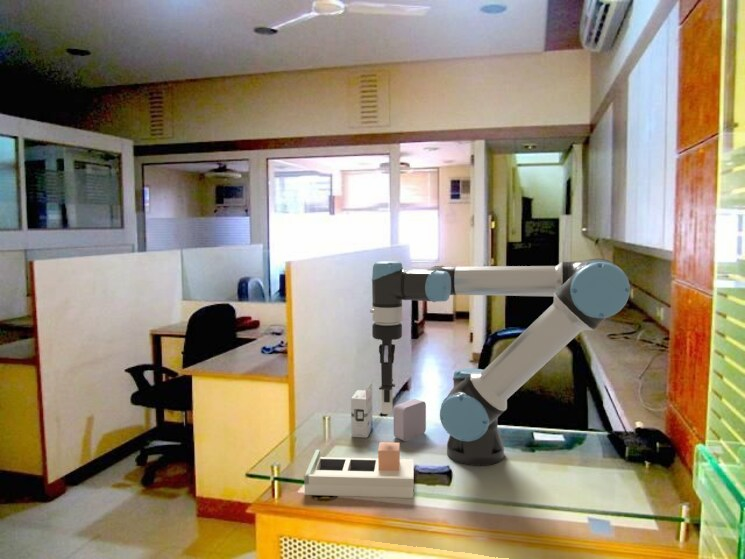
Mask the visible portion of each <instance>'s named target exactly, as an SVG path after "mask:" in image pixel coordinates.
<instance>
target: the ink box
mask: <svg viewBox="0 0 745 559" xmlns="http://www.w3.org/2000/svg"><path fill="white" fill-rule="evenodd" d="M350 414H351V416H350V422H351V425H350V426H351V432H350V433H351V437H352V438H368V437H369V435H370V433H371V431H372V430H373V427H372V426H373V381H370V383H369V384H368V385H367V387H366V389H365V390H364V389H362V390H361V389H356V390H355V393H353V395H352V397H351V398H350Z"/></svg>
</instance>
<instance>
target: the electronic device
mask: <svg viewBox="0 0 745 559" xmlns="http://www.w3.org/2000/svg"><path fill="white" fill-rule="evenodd" d="M426 429H427V404H426V402H425V401H423V400H419V399H416V398H413V399H410V400H407V401H403V402H402V403H399V404H396V405H394V407H393V437H395V439H398V440H401V441H403V442H408V441H412V440H413V439H415V438H418V437H420V436H422V435H424V434H425V432H426Z"/></svg>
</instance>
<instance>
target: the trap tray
mask: <svg viewBox="0 0 745 559" xmlns="http://www.w3.org/2000/svg"><path fill="white" fill-rule="evenodd" d="M414 464H415V462H414V458H400V465H399V471H388V470H378V457H376V458H374V457H369V458H368V457H340V456H339V457H336V456H335V457H331V456H330V457H329V456H321V449H315V451H314V454H313V456H312V458H311V460H310V463H309V465H308V467H307V470H306V471H305V473H304V476H303V479H304V496H334V497H336V496H337V497H364V498H365V497H369V498H398V499H399V498H401V499H402V498H403V499H405V498H406V499H414V492H413V489H414V480H415V479H414V477H415V476H414V473H415V471H414V470H415V469H414V467H415V465H414Z"/></svg>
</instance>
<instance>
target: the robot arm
mask: <svg viewBox="0 0 745 559" xmlns="http://www.w3.org/2000/svg"><path fill="white" fill-rule="evenodd" d="M371 283H372V284H371V286H372V287H371V290H372V291H371V292H372V294H371V295H372V302H371V303H372V309H370V310H369V313H371V314H372V321H373V323H372V327H371V328H372V329H371V330H372V331H371V332H372V334H371V336H372V338H374V339H375V340H377V341H379V340H380V341H381V343H379V346H378V353H379V363H380V365H381V366H380V369H381V375H380V377H381V380H380V381H381V385H380V386H379V387H378V390H381V414H382V415H393V391H394V390H393V387H396V383H393V381H394V379H393V368H394V366H393V365H394V361H395V353H396V352H395V351H396V344H395V343H393V341H396V340H400V339H401V338H402V337H403V325H402V321H403V301H416V302H417V301H418V302H432V303H437V302H447V301H448V300H449V299H450V296H459V295H460V296H502V297H503V296H504V297H505V296H509V297H511V296H512V297H513V296H516V297H518V296H519V297H553V302H552V304H551V305H550V306H549V307H548V308H547V309H545V310H544V311H543V312H542V314H540V315H539V316H538V318H536V319H535V320H534V321H532V323H531V324H530V325H529V326H528V327H527V328H526V329H525V330H524V331H523V332H521V333H520V335H519V336H517V337H516V338H515V339H514V340H513V341H512V342H511V343H510V344H509V345H508V346H507V347H506V348H505V349H504V350H503V351H502V352H501V353H499V355H498V356H497V357H496V358H495V359H493V360H492V361H491V363H490V364H488V366H486V367H485V368H484V369H481V368H459V369H456V370H455V371H454V373H453V377H452V380H453V388H452V389H451V390H450V391H449V393H448V395H447V396H446V397H445V398H444V399H443V401H442V403H441V406H440V410H439V420H440V423H441V425H442V427H443V429H444V430H445V432H446V433H447V434H449V437H448V440H447V443H446V454H447V456H448V457H449V458H450V459H451V460H453V461H455V462H458V463H460V464H465V465H471V466H490V465H495V464H497V463H499V462H501V461H502V460H503V459H504V456H505V446H504V444H503V441H502V438H501V434H500V432H499V429H498V418H499V417H500V416H501V415H502V414H503V413H505V411H507V409H508V399H509V398H510V397H511V396H513V395H514V394H515V392H517V391H518V390H519V389H520V388H521V387H522V386H523V385H525V384H526V383H527V382H528V381H529V380H530V379H531V378H532V377H533V376H535V375H536V374H537V373H538V372H539V371H540V370H541V369H542V368H543V367H544V366H545V365H546V364H547V363H549V361H551V359H553V358H554V357H555V356H556V355H558V353H559V352H560V351H562V350H563V348H565V347H566V346H567V345H568V344H569V343H570V342H571V341H572V340H574V339H575V338H576V337H577V336H578V335H579V334H580V333H582V331H594V330H595V329H596V328H597V327H598V326H599V325H600V324H601V323H603V322H604V321H605V320H606V319H607V318H610V317H612V316H615V315H616V314H618V313H619V312H620V311H622V309H623V308H624V307H625V306H626V304H627V302H628V300H629V297H630V294H631V292H630V291H631V285H630V281H629V278H628V276H627V274H626V272H625V271H623V269H622V268H621V267H619V266H618V265H616V264H615V263H614V262H611V261H610V260H608V259H607V260H606V259H604V258H591V259H585V260H575V261H561V262H559V263H558V264H557V265H530V266H527V265H524V266H523V265H521V266H520V265H517V266H516V265H515V266H514V265H512V266H511V265H510V266H509V265H503V266H502V265H501V266H500V265H499V266H498V265H497V266H491V265H490V266H486V265H485V266H445V265H435V266H432V267H430V268H427V269H422V270H419V269H418V270H417V269H415V270H413V269H411V270H410V269H404V268H403V264H402V262H400V261H391V260H388V261H387V260H386V261H385V260H383V261H382V260H381V261H376V262H374V264H373V265H372V277H371Z"/></svg>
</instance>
